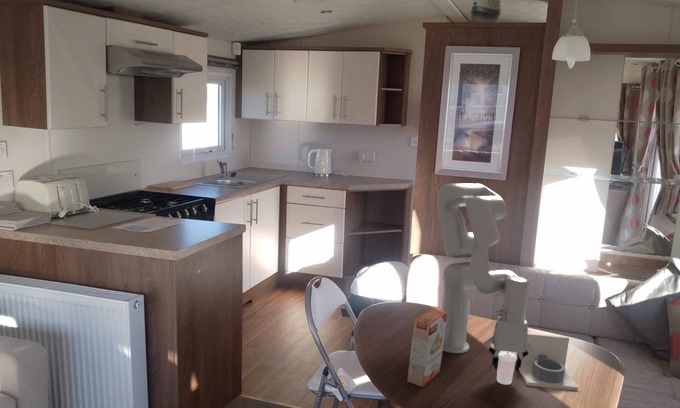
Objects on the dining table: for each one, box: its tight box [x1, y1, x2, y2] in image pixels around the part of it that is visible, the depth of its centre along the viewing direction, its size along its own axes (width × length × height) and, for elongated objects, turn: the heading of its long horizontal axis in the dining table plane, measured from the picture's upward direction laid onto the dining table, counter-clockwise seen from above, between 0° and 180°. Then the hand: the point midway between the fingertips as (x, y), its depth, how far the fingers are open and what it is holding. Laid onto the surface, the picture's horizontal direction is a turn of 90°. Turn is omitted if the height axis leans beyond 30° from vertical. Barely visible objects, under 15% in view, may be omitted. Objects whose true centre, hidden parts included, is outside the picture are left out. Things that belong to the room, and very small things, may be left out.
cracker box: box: [406, 308, 447, 388], centre depth 184 cm, size 14×6×21 cm, turn 148°
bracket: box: [518, 332, 579, 392], centre depth 191 cm, size 16×15×12 cm
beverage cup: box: [496, 351, 517, 386], centre depth 186 cm, size 6×6×14 cm
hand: (505, 367), depth 187 cm, fingers closed on beverage cup, 6 cm apart
